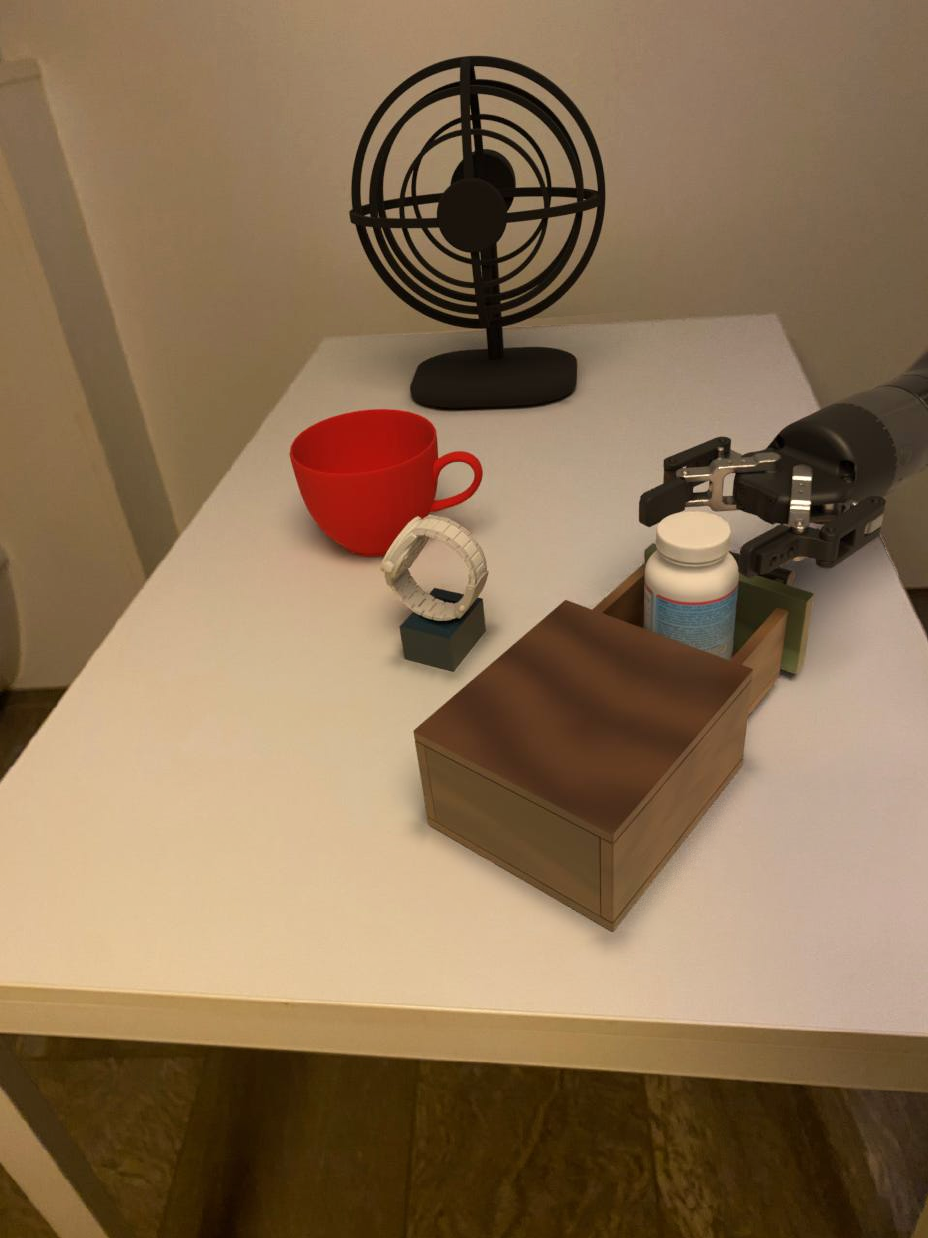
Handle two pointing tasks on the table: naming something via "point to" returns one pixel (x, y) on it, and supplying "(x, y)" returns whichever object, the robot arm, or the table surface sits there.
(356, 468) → the ceramic cup
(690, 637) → the pill bottle
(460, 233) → the desk fan
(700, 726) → the cabinet
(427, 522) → the watch
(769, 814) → the table surface
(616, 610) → the drawer
